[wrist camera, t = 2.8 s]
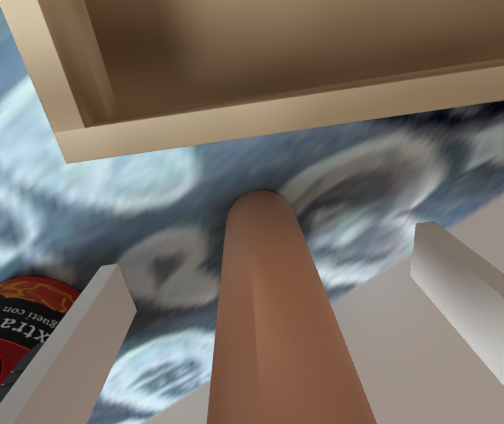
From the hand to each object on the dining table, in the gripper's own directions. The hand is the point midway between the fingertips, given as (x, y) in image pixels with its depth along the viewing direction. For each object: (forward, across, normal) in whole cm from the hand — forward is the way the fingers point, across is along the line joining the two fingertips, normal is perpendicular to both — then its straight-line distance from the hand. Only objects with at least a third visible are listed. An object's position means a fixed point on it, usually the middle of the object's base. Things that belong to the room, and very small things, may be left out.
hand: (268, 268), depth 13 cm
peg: (+4, 0, 0) cm, 4 cm away
